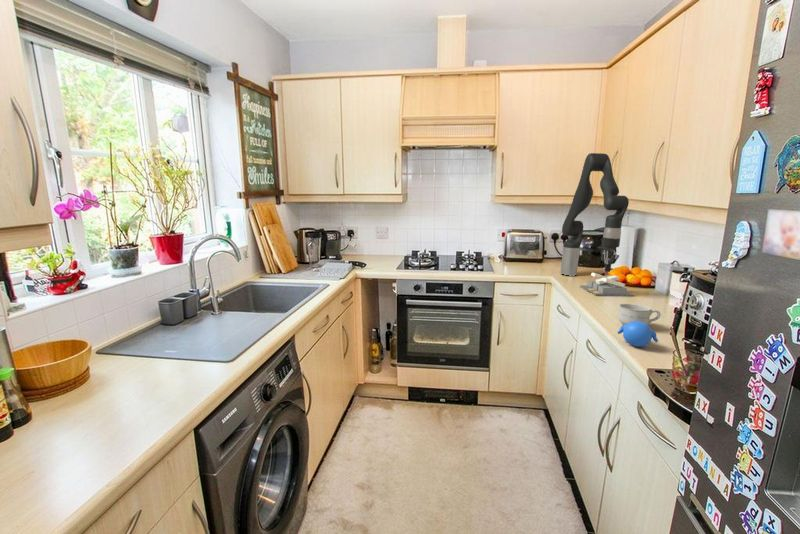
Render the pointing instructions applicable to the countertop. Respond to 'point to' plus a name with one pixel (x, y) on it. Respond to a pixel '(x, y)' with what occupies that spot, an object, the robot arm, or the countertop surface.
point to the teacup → (636, 313)
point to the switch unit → (605, 289)
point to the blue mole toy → (637, 333)
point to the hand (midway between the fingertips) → (607, 271)
